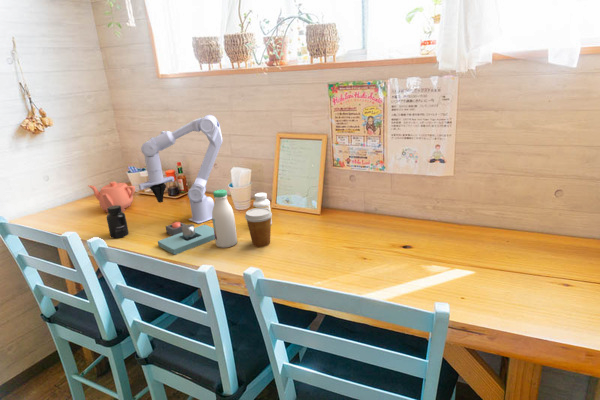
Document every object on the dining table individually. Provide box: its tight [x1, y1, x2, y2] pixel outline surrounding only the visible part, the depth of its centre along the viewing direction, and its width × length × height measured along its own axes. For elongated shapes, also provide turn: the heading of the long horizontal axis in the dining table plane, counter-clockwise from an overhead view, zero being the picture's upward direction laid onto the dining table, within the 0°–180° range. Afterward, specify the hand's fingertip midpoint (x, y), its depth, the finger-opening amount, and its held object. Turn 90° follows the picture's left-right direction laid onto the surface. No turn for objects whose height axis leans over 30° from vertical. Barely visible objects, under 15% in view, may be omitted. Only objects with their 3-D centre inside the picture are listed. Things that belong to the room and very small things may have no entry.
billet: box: [182, 223, 196, 241], centre depth 151 cm, size 4×4×6 cm
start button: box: [171, 221, 181, 228], centre depth 160 cm, size 3×3×4 cm
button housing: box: [165, 221, 187, 237], centre depth 160 cm, size 6×6×3 cm
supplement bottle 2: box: [252, 192, 273, 225], centre depth 161 cm, size 7×7×13 cm
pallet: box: [157, 224, 215, 256], centre depth 152 cm, size 20×12×2 cm, turn 135°
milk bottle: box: [211, 189, 238, 249], centre depth 144 cm, size 8×8×20 cm
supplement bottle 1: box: [106, 205, 129, 239], centre depth 160 cm, size 7×7×12 cm
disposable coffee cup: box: [244, 207, 273, 248], centre depth 144 cm, size 10×10×12 cm
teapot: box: [88, 181, 136, 214], centre depth 193 cm, size 16×17×14 cm
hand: (160, 201), depth 169 cm, fingers closed
